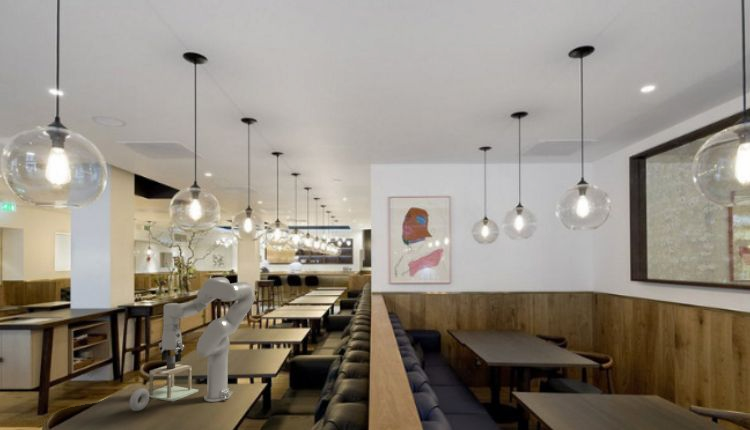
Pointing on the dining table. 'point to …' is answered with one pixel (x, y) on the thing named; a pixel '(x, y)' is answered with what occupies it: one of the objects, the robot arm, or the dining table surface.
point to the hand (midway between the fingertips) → (171, 360)
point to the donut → (145, 398)
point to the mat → (172, 393)
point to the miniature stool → (170, 374)
